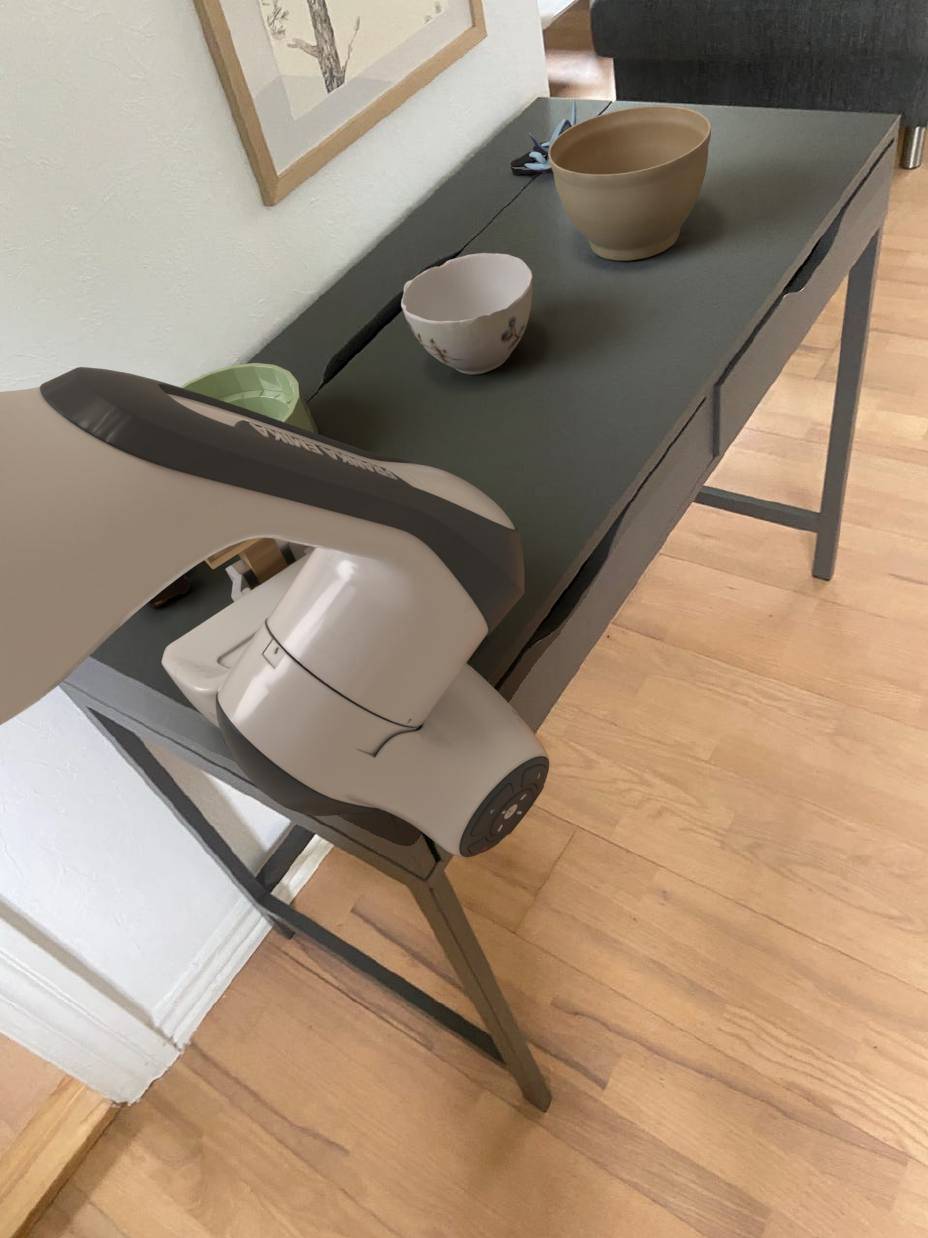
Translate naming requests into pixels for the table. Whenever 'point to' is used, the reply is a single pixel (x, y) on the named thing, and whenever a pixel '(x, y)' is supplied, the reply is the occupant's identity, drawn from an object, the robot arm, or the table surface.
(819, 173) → the table surface
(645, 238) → the planter bowl
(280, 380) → the sage green basin
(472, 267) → the teacup
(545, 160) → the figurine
